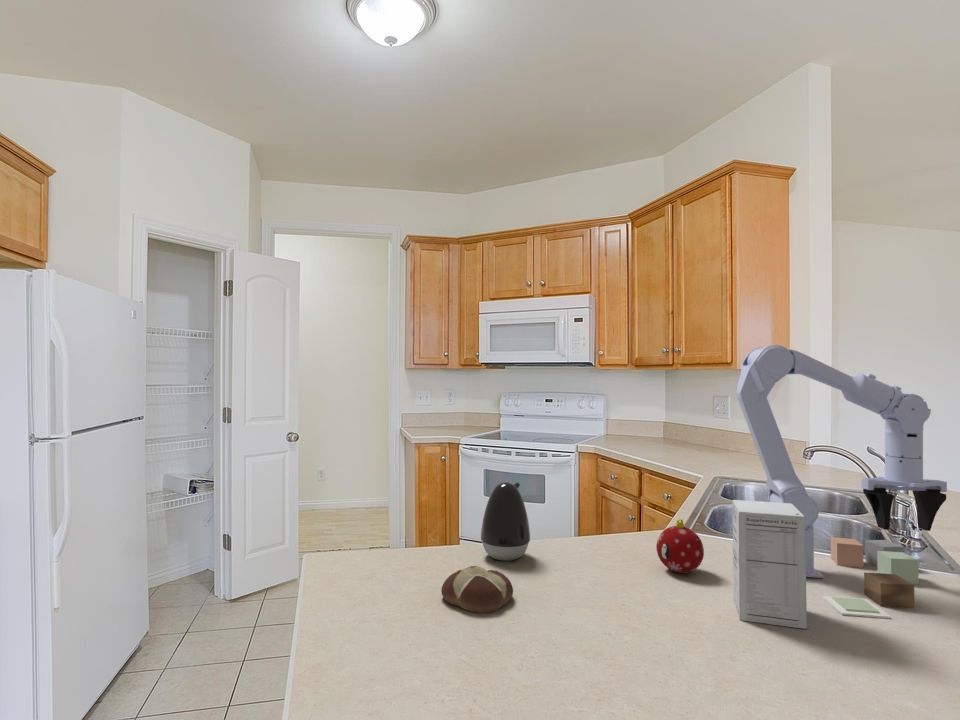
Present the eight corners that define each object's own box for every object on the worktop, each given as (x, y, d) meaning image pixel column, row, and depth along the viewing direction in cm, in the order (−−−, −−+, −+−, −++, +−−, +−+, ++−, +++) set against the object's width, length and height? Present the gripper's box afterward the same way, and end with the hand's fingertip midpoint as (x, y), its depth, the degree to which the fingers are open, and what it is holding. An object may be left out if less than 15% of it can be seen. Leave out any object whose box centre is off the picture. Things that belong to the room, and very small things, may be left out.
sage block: (891, 583, 100) (891, 558, 101) (877, 574, 105) (877, 550, 105) (918, 584, 100) (918, 560, 100) (903, 576, 104) (903, 552, 104)
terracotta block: (837, 565, 110) (837, 543, 110) (830, 558, 114) (830, 537, 114) (863, 568, 108) (863, 545, 108) (856, 561, 112) (855, 539, 113)
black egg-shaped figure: (538, 554, 114) (539, 481, 114) (515, 568, 105) (515, 489, 105) (497, 545, 119) (497, 476, 120) (470, 558, 110) (472, 483, 111)
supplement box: (795, 606, 89) (794, 502, 90) (809, 630, 80) (808, 516, 81) (731, 598, 92) (731, 498, 93) (737, 620, 84) (737, 510, 84)
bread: (481, 621, 83) (481, 587, 83) (430, 599, 90) (431, 569, 91) (526, 599, 91) (526, 569, 91) (476, 581, 99) (476, 553, 99)
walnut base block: (880, 607, 90) (880, 582, 90) (864, 595, 95) (864, 572, 95) (914, 609, 89) (914, 585, 89) (896, 597, 94) (895, 574, 94)
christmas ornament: (714, 575, 103) (714, 522, 103) (680, 582, 99) (680, 527, 99) (679, 561, 110) (679, 512, 111) (646, 567, 107) (647, 516, 107)
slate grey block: (883, 570, 107) (883, 546, 108) (865, 562, 112) (865, 540, 112) (904, 569, 108) (904, 546, 108) (885, 561, 112) (885, 539, 113)
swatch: (841, 615, 86) (841, 611, 86) (821, 597, 93) (821, 593, 93) (890, 618, 85) (890, 614, 85) (866, 600, 92) (866, 597, 92)
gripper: (879, 458, 99) (879, 533, 99) (960, 460, 99) (961, 536, 98) (854, 453, 106) (854, 523, 106) (929, 455, 106) (929, 525, 106)
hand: (903, 528), depth 103 cm, fingers open, 7 cm apart
